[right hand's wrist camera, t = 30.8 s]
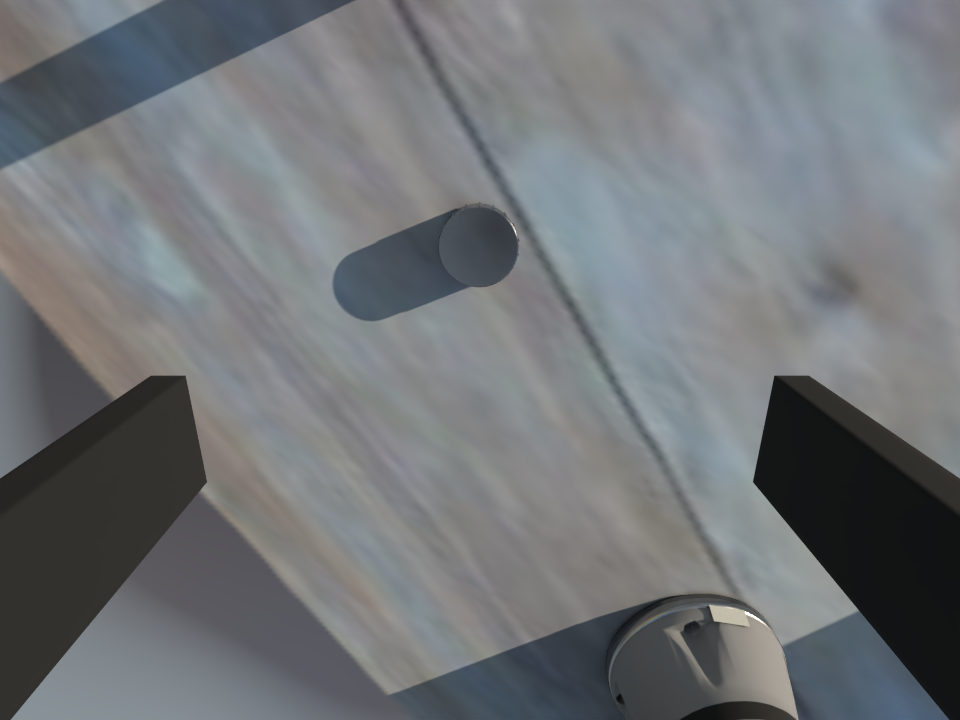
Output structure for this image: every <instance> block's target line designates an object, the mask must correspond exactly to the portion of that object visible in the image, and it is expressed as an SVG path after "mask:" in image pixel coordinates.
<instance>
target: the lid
mask: <svg viewBox="0 0 960 720" xmlns="http://www.w3.org/2000/svg"><path fill="white" fill-rule="evenodd" d="M443 226H444V228H443V230H442V233H441V234H440V237H439V254H440V258H441V261H442V264H443V266H444V267H445V269H446V271H447V272H448V273H449V274H450V275H451V276H452V277H453V278H454V279H455V280H457V281H458V282H460V283H462V284H465V285H467V286H471V287H486V286H490V285H493V284H496V283H497V282H499V281H501V280H502V279H504V278H505V277H506V276H507V275H508V274H509V273H510V271H511V270H512V269H513V267H514V265H515V263H516V260H517V257H518V255H519V254H518V251H519V244H518V242H519V239H518V237H517V234H516V232H515V229H514V228H515V226H514V224H513V223H511V221H510V220H509V218H508V217H507V215H506V213H505V212H504V213H503V212H502V211H500V210H499V209H497V208H495V207H494V205H492V206H490V205H487V204H481V203H480V202H479V204H471V205H467V204H466V205H465V207H462V208H460V209H459V210H457V211H456V212H455V211H454V212H453V214H452V216H451V217H450V218H449V219H448V221H447V222H446V221H445V223H444V225H443Z"/></svg>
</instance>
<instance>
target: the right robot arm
mask: <svg viewBox="0 0 960 720" xmlns="http://www.w3.org/2000/svg"><path fill="white" fill-rule="evenodd" d="M206 483H207V480H206V475H205V470H204V465H203V460H202V455H201V450H200V445H199V440H198V435H197V430H196V425H195V420H194V415H193V410H192V405H191V401H190V396H189V391H188V386H187V381H186V376H150V377H149V378H147V379H146V380H144V381H143V382H141V383H140V384H138V385H137V386H135V387H134V388H132V389H131V390H129V391H128V392H127V393H125V394H124V395H122V396H121V397H119V398H118V399H116V400H115V401H113V402H112V403H110V404H109V405H107V406H106V407H105V408H103V409H102V410H100V411H99V412H97V413H96V414H94V415H93V416H91V417H90V418H88V419H87V420H86V421H84V422H83V423H81V424H80V425H78V426H77V427H75V428H74V429H72V430H71V431H69V432H68V433H67V434H65V435H64V436H62V437H61V438H59V439H58V440H56V441H55V442H53V443H52V444H50V445H49V446H47V447H46V448H44V449H43V450H41V451H40V452H39V453H37V454H36V455H34V456H33V457H31V458H30V459H28V460H27V461H25V462H24V463H22V464H21V465H19V466H18V467H17V468H15V469H14V470H12V471H11V472H9V473H8V474H6V475H5V476H3V477H2V478H0V720H11V719H12V717H13V716H14V715H15V714H16V712H17V711H18V710H19V709H20V708H21V706H22V705H23V704H24V703H25V702H26V700H27V699H28V698H29V697H30V696H31V694H32V693H33V692H34V691H35V689H36V688H37V687H38V686H39V685H40V683H41V682H42V681H43V680H44V678H45V677H46V676H47V675H48V674H49V672H50V671H51V670H52V669H53V668H54V666H55V665H56V664H57V663H58V662H59V660H60V659H61V658H62V657H63V656H64V654H65V653H66V652H67V651H68V649H69V648H70V647H71V646H72V645H73V643H74V642H75V641H76V640H77V639H78V637H79V636H80V635H81V634H82V633H83V631H84V630H85V629H86V628H87V627H88V625H89V624H90V623H91V622H92V620H93V619H94V618H95V617H96V616H97V614H98V613H99V612H100V611H101V610H102V608H103V607H104V606H105V605H106V604H107V602H108V601H109V600H110V599H111V597H112V596H113V595H114V594H115V593H116V591H117V590H118V589H119V588H120V587H121V585H122V584H123V583H124V582H125V581H126V579H127V578H128V577H129V576H130V574H131V573H132V572H133V571H134V570H135V568H136V567H137V566H138V565H139V564H140V562H141V561H142V560H143V559H144V558H145V556H146V555H147V554H148V553H149V552H150V550H151V549H152V548H153V547H154V545H155V544H156V543H157V542H158V541H159V539H160V538H161V537H162V536H163V535H164V533H165V532H166V531H167V530H168V529H169V527H170V526H171V525H172V524H173V522H174V521H175V520H176V519H177V518H178V516H179V515H180V514H181V513H182V512H183V510H184V509H185V508H186V507H187V505H188V504H189V503H190V502H191V501H192V499H193V498H194V497H195V496H196V495H197V493H198V492H199V491H200V490H201V489H202V487H203V486H204V485H205V484H206ZM753 483H754V484H755V485H756V486H757V487H758V489H759V490H760V491H761V492H762V493H763V495H764V496H765V497H766V498H767V499H768V501H769V502H770V503H771V504H772V506H773V507H774V508H775V509H776V510H777V512H778V513H779V514H780V515H781V516H782V518H783V519H784V520H785V521H786V522H787V524H788V525H789V526H790V527H791V529H792V530H793V531H794V532H795V533H796V535H797V536H798V537H799V538H800V539H801V541H802V542H803V543H804V544H805V545H806V547H807V548H808V549H809V550H810V552H811V553H812V554H813V555H814V556H815V558H816V559H817V560H818V561H819V562H820V564H821V565H822V566H823V567H824V568H825V570H826V571H827V572H828V573H829V575H830V576H831V577H832V578H833V579H834V581H835V582H836V583H837V584H838V585H839V587H840V588H841V589H842V590H843V591H844V593H845V594H846V595H847V596H848V597H849V599H850V600H851V601H852V602H853V604H854V605H855V606H856V607H857V608H858V610H859V611H860V612H861V613H862V614H863V616H864V617H865V618H866V619H867V620H868V622H869V623H870V624H871V625H872V627H873V628H874V629H875V630H876V631H877V633H878V634H879V635H880V636H881V637H882V639H883V640H884V641H885V642H886V643H887V645H888V646H889V647H890V648H891V650H892V651H893V652H894V653H895V654H896V656H897V657H898V658H899V659H900V660H901V662H902V663H903V664H904V665H905V666H906V668H907V669H908V670H909V671H910V673H911V674H912V675H913V676H914V677H915V679H916V680H917V681H918V682H919V683H920V685H921V686H922V687H923V688H924V689H925V691H926V692H927V693H928V694H929V696H930V697H931V698H932V699H933V700H934V702H935V703H936V704H937V705H938V706H939V708H940V709H941V710H942V711H943V712H944V714H945V715H946V716H947V717H948V719H949V720H960V478H958V477H957V476H955V475H954V474H952V473H951V472H949V471H948V470H946V469H945V468H943V467H942V466H941V465H939V464H938V463H936V462H935V461H933V460H932V459H930V458H929V457H927V456H926V455H924V454H923V453H921V452H920V451H919V450H917V449H916V448H914V447H913V446H911V445H910V444H908V443H907V442H905V441H904V440H902V439H901V438H899V437H898V436H897V435H895V434H894V433H892V432H891V431H889V430H888V429H886V428H885V427H883V426H882V425H880V424H879V423H877V422H876V421H875V420H873V419H872V418H870V417H869V416H867V415H866V414H864V413H863V412H861V411H860V410H858V409H857V408H855V407H854V406H853V405H851V404H850V403H848V402H847V401H845V400H844V399H842V398H841V397H839V396H838V395H836V394H835V393H833V392H832V391H831V390H829V389H828V388H826V387H825V386H823V385H822V384H820V383H819V382H817V381H816V380H814V379H813V378H811V377H810V376H774V381H773V386H772V391H771V396H770V401H769V405H768V410H767V415H766V420H765V425H764V430H763V435H762V440H761V445H760V450H759V455H758V460H757V465H756V470H755V475H754V480H753ZM606 673H607V678H608V682H609V686H610V690H611V694H612V697H613V699H614V701H615V703H616V705H617V707H618V709H619V711H620V712H621V714H622V715H623V717H624V718H625V720H799V719H798V715H797V710H796V706H795V701H794V696H793V692H792V687H791V683H790V679H789V675H788V671H787V663H786V658H785V655H784V652H783V649H782V646H781V644H780V642H779V640H778V638H777V637H776V635H775V633H774V632H773V630H772V628H771V627H770V625H769V624H768V622H767V621H766V620H765V618H764V617H763V616H762V615H761V614H760V613H759V612H758V611H756V610H755V609H754V608H752V607H750V606H749V605H747V604H745V603H743V602H741V601H739V600H736V599H733V598H729V597H725V596H720V595H713V594H692V595H684V596H678V597H674V598H670V599H667V600H664V601H661V602H658V603H656V604H654V605H652V606H650V607H647V608H646V609H644V610H642V611H641V612H639V613H638V614H636V615H635V616H633V617H632V618H631V619H630V620H629V621H627V622H626V623H625V624H624V625H623V626H622V628H621V629H620V630H619V631H618V632H617V634H616V635H615V637H614V638H613V640H612V642H611V644H610V647H609V649H608V653H607V657H606Z"/></svg>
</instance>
